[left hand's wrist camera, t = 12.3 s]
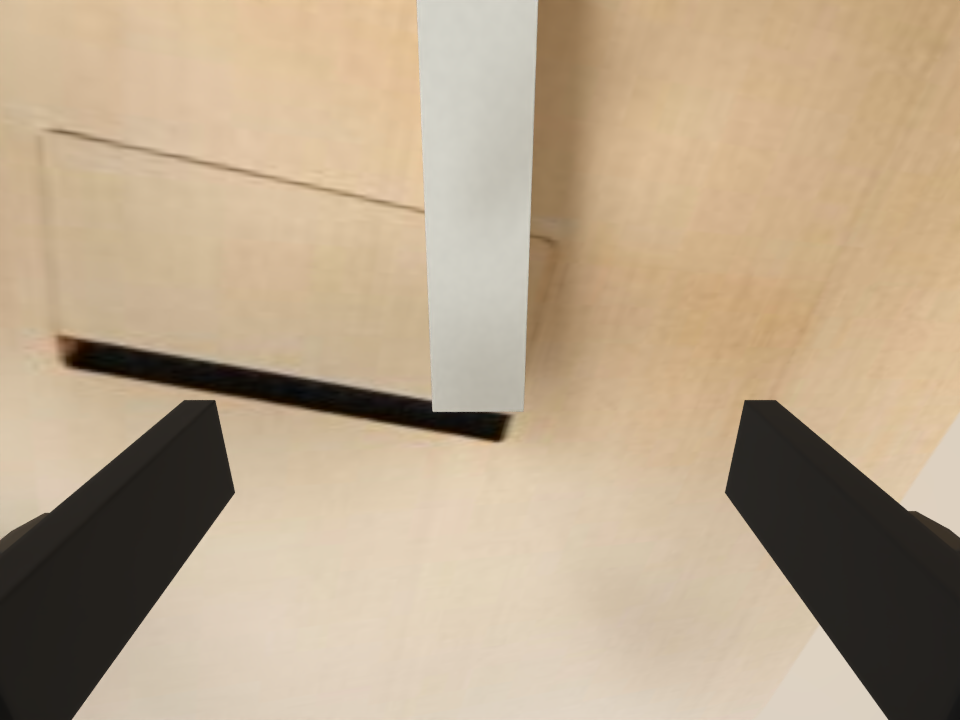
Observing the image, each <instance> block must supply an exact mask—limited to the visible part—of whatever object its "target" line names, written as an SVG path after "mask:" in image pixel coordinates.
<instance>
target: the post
mask: <svg viewBox="0 0 960 720" xmlns="http://www.w3.org/2000/svg"><path fill="white" fill-rule="evenodd" d="M417 23H418V48H419V74H420V100H421V126H422V151H423V177H424V203H425V229H426V255H427V280H428V306H429V332H430V358H431V384H432V409H433V412H523V411H524V390H525V362H526V333H527V305H528V277H529V249H530V220H531V192H532V164H533V136H534V107H535V79H536V51H537V23H538V0H417Z"/></svg>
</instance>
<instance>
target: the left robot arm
mask: <svg viewBox="0 0 960 720" xmlns="http://www.w3.org/2000/svg"><path fill="white" fill-rule="evenodd" d="M234 493H235V490H234V486H233V481H232V476H231V472H230V467H229V462H228V458H227V453H226V448H225V444H224V439H223V434H222V430H221V425H220V420H219V416H218V411H217V406H216V401H215V400H184V401H183V402H182V403H180V404H179V405H178V406H177V407H176V408H174V409H173V410H172V411H171V412H170V413H169V414H167V415H166V416H165V417H164V418H163V419H161V420H160V421H159V422H158V423H157V424H155V425H154V426H153V427H152V428H151V429H149V430H148V431H147V432H146V433H145V434H143V435H142V436H141V437H140V438H139V439H137V440H136V441H135V442H134V443H133V444H132V445H130V446H129V447H128V448H127V449H126V450H124V451H123V452H122V453H121V454H120V455H118V456H117V457H116V458H115V459H114V460H112V461H111V462H110V463H109V464H108V465H106V466H105V467H104V468H103V469H102V470H101V471H99V472H98V473H97V474H96V475H95V476H93V477H92V478H91V479H90V480H89V481H87V482H86V483H85V484H84V485H83V486H81V487H80V488H79V489H78V490H77V491H75V492H74V493H73V494H72V495H71V496H69V497H68V498H67V499H66V500H65V501H64V502H62V503H61V504H60V505H59V506H58V507H56V508H55V509H54V510H53V511H52V512H50V513H44V514H42V515H40V516H38V517H37V518H35V519H33V520H31V521H29V522H27V523H26V524H24V525H22V526H20V527H18V528H16V529H15V530H13V531H11V532H10V533H9V534H7V535H6V536H5V537H4V538H2V539H1V540H0V720H72V718H73V717H74V716H75V714H76V713H77V711H78V710H79V709H80V707H81V706H82V705H83V703H84V702H85V700H86V699H87V698H88V696H89V695H90V693H91V692H92V691H93V689H94V688H95V686H96V685H97V684H98V682H99V681H100V680H101V678H102V677H103V675H104V674H105V673H106V671H107V670H108V668H109V667H110V666H111V664H112V663H113V661H114V660H115V659H116V657H117V656H118V655H119V653H120V652H121V650H122V649H123V648H124V646H125V645H126V643H127V642H128V641H129V639H130V638H131V636H132V635H133V634H134V632H135V631H136V630H137V628H138V627H139V625H140V624H141V623H142V621H143V620H144V618H145V617H146V616H147V614H148V613H149V611H150V610H151V609H152V607H153V606H154V605H155V603H156V602H157V600H158V599H159V598H160V596H161V595H162V593H163V592H164V591H165V589H166V588H167V586H168V585H169V584H170V582H171V581H172V580H173V578H174V577H175V575H176V574H177V573H178V571H179V570H180V568H181V567H182V566H183V564H184V563H185V561H186V560H187V559H188V557H189V556H190V555H191V553H192V552H193V550H194V549H195V548H196V546H197V545H198V543H199V542H200V541H201V539H202V538H203V536H204V535H205V534H206V532H207V531H208V530H209V528H210V527H211V525H212V524H213V523H214V521H215V520H216V518H217V517H218V516H219V514H220V513H221V511H222V510H223V509H224V507H225V506H226V505H227V503H228V502H229V500H230V499H231V498H232V496H233V495H234ZM725 493H726V495H727V496H728V498H729V499H730V500H731V502H732V503H733V505H734V506H735V507H736V509H737V510H738V511H739V513H740V514H741V516H742V517H743V518H744V520H745V521H746V523H747V524H748V525H749V527H750V528H751V530H752V531H753V532H754V534H755V535H756V536H757V538H758V539H759V541H760V542H761V543H762V545H763V546H764V548H765V549H766V550H767V552H768V553H769V555H770V556H771V557H772V559H773V560H774V561H775V563H776V564H777V566H778V567H779V568H780V570H781V571H782V573H783V574H784V575H785V577H786V578H787V580H788V581H789V582H790V584H791V585H792V586H793V588H794V589H795V591H796V592H797V593H798V595H799V596H800V598H801V599H802V600H803V602H804V603H805V605H806V606H807V607H808V609H809V610H810V611H811V613H812V614H813V616H814V617H815V618H816V620H817V621H818V623H819V624H820V625H821V627H822V628H823V629H824V631H825V632H826V634H827V635H828V636H829V638H830V639H831V641H832V642H833V643H834V645H835V646H836V648H837V649H838V650H839V652H840V653H841V655H842V656H843V657H844V659H845V660H846V661H847V663H848V664H849V666H850V667H851V668H852V670H853V671H854V673H855V674H856V675H857V677H858V678H859V680H860V681H861V682H862V684H863V685H864V686H865V688H866V689H867V691H868V692H869V693H870V695H871V696H872V698H873V699H874V700H875V702H876V703H877V705H878V706H879V707H880V709H881V710H882V711H883V713H884V714H885V716H886V717H887V718H888V720H960V538H959V537H958V536H957V535H956V534H954V533H953V532H952V531H951V530H949V529H948V528H946V527H944V526H942V525H940V524H938V523H937V522H935V521H933V520H931V519H929V518H927V517H926V516H924V515H922V514H920V513H918V512H916V511H907V510H906V509H905V508H904V507H902V506H901V505H900V504H899V503H898V502H896V501H895V500H894V499H893V498H892V497H891V496H889V495H888V494H887V493H886V492H885V491H883V490H882V489H881V488H880V487H879V486H877V485H876V484H875V483H874V482H873V481H871V480H870V479H869V478H868V477H867V476H865V475H864V474H863V473H862V472H861V471H859V470H858V469H857V468H856V467H855V466H854V465H852V464H851V463H850V462H849V461H848V460H846V459H845V458H844V457H843V456H842V455H840V454H839V453H838V452H837V451H836V450H834V449H833V448H832V447H831V446H830V445H828V444H827V443H826V442H825V441H824V440H823V439H821V438H820V437H819V436H818V435H817V434H815V433H814V432H813V431H812V430H811V429H809V428H808V427H807V426H806V425H805V424H803V423H802V422H801V421H800V420H799V419H797V418H796V417H795V416H794V415H793V414H791V413H790V412H789V411H788V410H787V409H786V408H784V407H783V406H782V405H781V404H780V403H778V402H777V401H776V400H745V401H744V406H743V411H742V416H741V420H740V425H739V430H738V434H737V439H736V444H735V448H734V453H733V458H732V462H731V467H730V472H729V476H728V481H727V486H726V490H725Z"/></svg>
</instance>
